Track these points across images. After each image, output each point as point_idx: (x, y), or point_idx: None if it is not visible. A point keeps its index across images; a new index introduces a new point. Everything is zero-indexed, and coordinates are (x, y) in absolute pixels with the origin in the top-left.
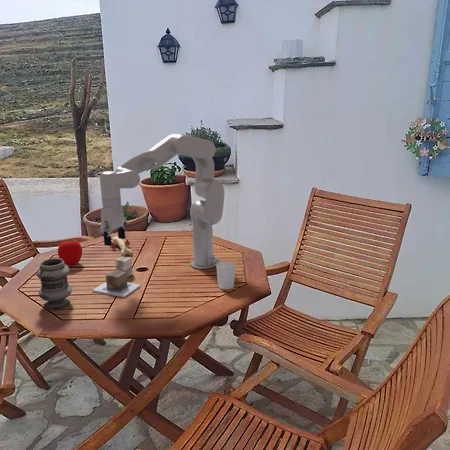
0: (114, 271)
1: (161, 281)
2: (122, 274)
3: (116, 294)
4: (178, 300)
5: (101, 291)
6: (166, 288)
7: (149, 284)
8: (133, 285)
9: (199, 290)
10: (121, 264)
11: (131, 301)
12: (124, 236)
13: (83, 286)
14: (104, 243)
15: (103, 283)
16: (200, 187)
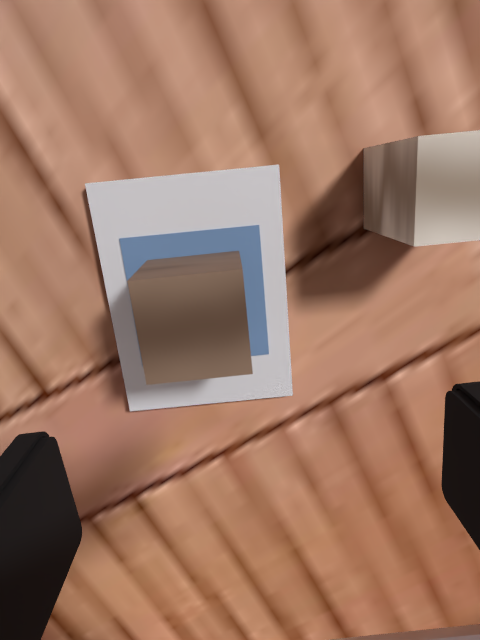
0: (223, 286)
1: (392, 441)
2: (204, 378)
3: (120, 361)
4: (233, 607)
5: (100, 256)
6: (322, 507)
7: (332, 411)
8: (264, 366)
9: (360, 623)
10: (401, 204)
11: (117, 458)
12: (472, 526)
13: (116, 46)
14: (8, 450)
15: (201, 173)
16: None
